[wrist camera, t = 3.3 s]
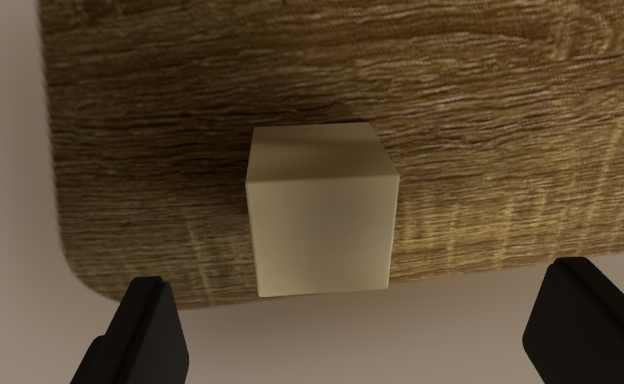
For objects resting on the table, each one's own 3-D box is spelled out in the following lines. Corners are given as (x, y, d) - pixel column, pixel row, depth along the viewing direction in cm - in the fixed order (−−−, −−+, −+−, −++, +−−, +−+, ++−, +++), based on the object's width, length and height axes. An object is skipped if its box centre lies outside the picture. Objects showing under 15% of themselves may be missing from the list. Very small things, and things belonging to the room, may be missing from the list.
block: (262, 223, 17) (258, 298, 13) (253, 126, 15) (244, 182, 11) (364, 217, 17) (388, 289, 13) (369, 121, 15) (400, 175, 11)
